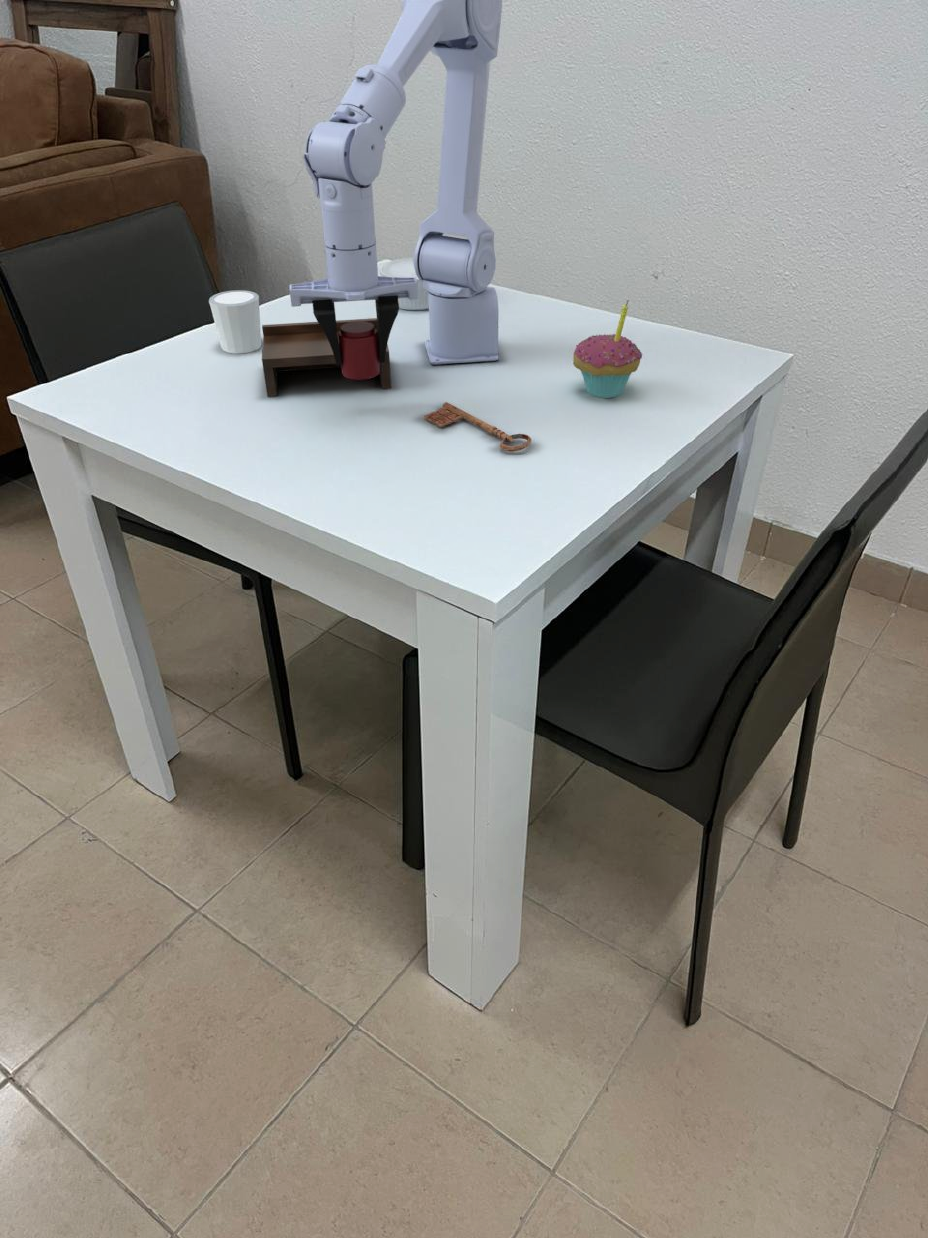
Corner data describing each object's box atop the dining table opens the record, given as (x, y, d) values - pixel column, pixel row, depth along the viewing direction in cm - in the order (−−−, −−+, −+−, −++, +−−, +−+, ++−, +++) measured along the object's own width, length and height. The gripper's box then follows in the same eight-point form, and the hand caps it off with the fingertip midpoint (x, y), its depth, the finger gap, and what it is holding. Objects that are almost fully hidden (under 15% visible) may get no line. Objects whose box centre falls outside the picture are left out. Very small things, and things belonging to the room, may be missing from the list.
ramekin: (374, 311, 144) (372, 276, 141) (390, 288, 152) (388, 255, 149) (444, 314, 142) (444, 279, 139) (457, 291, 151) (456, 258, 148)
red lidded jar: (378, 363, 114) (375, 318, 110) (381, 378, 110) (378, 332, 107) (341, 366, 113) (336, 321, 110) (342, 381, 110) (338, 334, 106)
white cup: (271, 338, 135) (264, 289, 131) (258, 355, 130) (250, 305, 125) (225, 336, 136) (217, 288, 131) (210, 354, 130) (201, 304, 126)
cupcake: (645, 384, 121) (655, 291, 113) (626, 409, 114) (636, 313, 107) (582, 373, 123) (589, 282, 116) (560, 397, 117) (566, 303, 110)
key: (421, 419, 113) (498, 462, 104) (420, 412, 113) (498, 455, 103) (458, 402, 116) (537, 444, 106) (457, 396, 115) (537, 437, 106)
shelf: (385, 362, 127) (383, 317, 124) (391, 388, 120) (388, 341, 116) (268, 369, 125) (262, 324, 122) (267, 396, 118) (260, 349, 115)
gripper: (284, 257, 99) (299, 378, 107) (418, 249, 100) (423, 369, 108) (284, 238, 104) (298, 355, 112) (412, 232, 106) (417, 347, 114)
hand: (359, 360), depth 111 cm, fingers closed on red lidded jar, 4 cm apart
